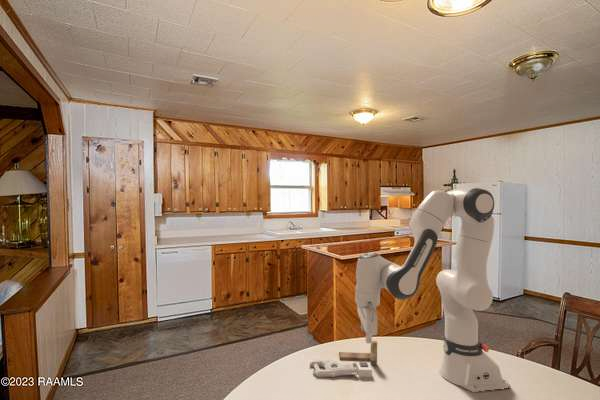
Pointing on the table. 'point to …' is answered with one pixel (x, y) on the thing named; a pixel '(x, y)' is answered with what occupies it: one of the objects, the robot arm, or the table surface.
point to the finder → (364, 369)
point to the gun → (333, 368)
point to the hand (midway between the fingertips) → (365, 336)
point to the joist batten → (354, 356)
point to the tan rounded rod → (373, 353)
